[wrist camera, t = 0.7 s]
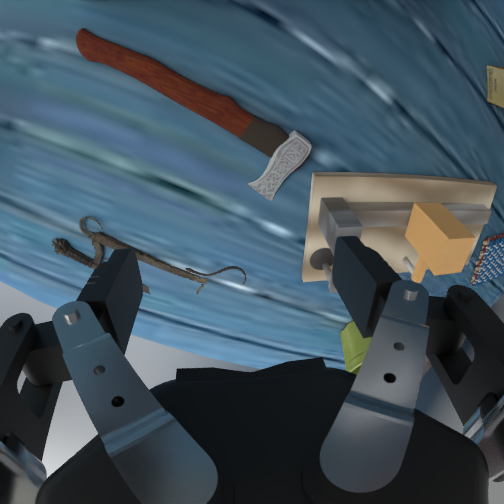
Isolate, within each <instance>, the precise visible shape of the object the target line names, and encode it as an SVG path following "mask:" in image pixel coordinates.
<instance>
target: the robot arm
mask: <svg viewBox="0 0 504 504" xmlns="http://www.w3.org/2000/svg"><path fill="white" fill-rule="evenodd" d="M88 1H99V0H88ZM332 279H333V284H334V286H335V288H336V290H337V291H338V293H339V295H340V297H341V299H342V300H343V302H344V304H345V306H346V308H347V309H348V311H349V313H350V315H351V317H352V319H353V320H354V322H355V324H356V326H357V328H358V330H359V332H360V333H361V335H362V337H363V338H369V337H372V340H371V342H370V345H369V348H368V350H367V353H366V355H365V358H364V360H363V362H362V365H361V367H360V370H359V372H358V374H357V375H356V374H354V373H351V372H349V371H346V370H341V369H337V368H329V367H326V366H325V363H324V360H323V358H322V357H320V358H312V359H305V360H297V361H288V362H285V363H282V364H278V365H275V366H272V367H269V368H265V369H262V370H259V371H255V372H242V371H234V370H227V369H220V368H213V367H212V368H182V369H177V372H176V379H175V380H171V381H168V382H165V383H162V384H160V385H158V386H155V387H153V388H152V389H150V390H149V389H148V388H147V387H146V385H145V384H144V383H143V382H142V380H141V379H140V377H139V376H138V375H137V373H136V372H135V370H134V369H133V368H132V366H131V365H130V363H129V362H128V361H127V359H126V358H125V356H124V355H125V351H126V348H127V345H128V341H129V338H130V334H131V331H132V328H133V325H134V321H135V318H136V315H137V312H138V309H139V305H140V302H141V299H142V295H143V285H142V280H141V275H140V271H139V266H138V261H137V257H136V252H135V250H134V249H133V248H125V249H115V250H114V252H113V253H112V255H111V257H110V258H109V260H108V261H107V262H103V263H102V264H101V265H99V266H98V267H97V268H96V269H95V270H94V272H93V273H92V275H91V278H89V280H88V281H87V284H86V285H85V286H84V288H83V290H82V292H81V293H80V295H79V297H78V298H77V300H76V301H74V302H69V303H67V304H65V305H63V306H61V307H60V308H58V309H57V310H56V312H55V313H54V315H53V318H52V321H49V322H45V323H40V324H36V325H35V323H34V321H33V319H32V317H31V315H29V314H27V313H19V314H16V315H14V316H12V317H10V318H8V319H7V320H6V321H5V322H4V323H3V325H2V326H1V328H0V504H488V485H489V482H491V481H495V482H501V481H504V323H503V322H502V321H501V320H500V319H499V318H498V316H497V315H496V314H495V313H494V312H493V310H492V309H491V308H490V307H489V306H488V305H487V304H486V303H485V301H484V300H483V299H482V298H481V297H480V296H479V295H478V294H477V293H476V292H475V291H474V290H472V289H470V288H468V287H466V286H462V285H454V286H451V287H450V288H449V289H448V292H447V295H446V297H435V296H429V293H428V291H427V290H426V288H425V287H423V286H422V285H420V284H419V283H416V282H414V281H410V280H402V279H401V278H400V277H399V275H398V274H397V273H396V272H395V271H394V270H393V269H392V267H391V266H389V264H388V263H387V262H386V261H385V260H384V258H383V257H382V256H381V255H380V254H379V253H378V252H377V251H375V250H373V249H371V248H370V247H366V246H365V245H364V244H363V243H362V242H361V241H360V239H359V238H358V237H357V236H339V237H337V239H336V243H335V252H334V260H333V268H332ZM465 337H467V338H468V340H469V341H470V343H471V344H472V346H473V347H474V352H475V356H474V360H473V362H471V360H470V359H469V357H468V356H467V354H466V353H465V351H464V350H463V348H462V347H461V345H462V343H463V341H464V340H465ZM425 354H426V356H427V358H428V360H429V361H430V363H431V365H432V367H433V368H434V370H435V372H436V374H437V376H438V377H439V379H440V381H441V383H442V385H443V386H444V388H445V390H446V392H447V394H448V396H449V398H450V400H451V402H452V404H453V406H454V408H455V409H456V412H457V414H458V416H459V418H460V419H461V422H462V424H463V426H464V428H463V434H461V433H459V432H457V431H455V430H453V429H451V428H450V427H448V426H446V425H444V424H442V423H440V422H439V421H437V420H435V419H433V418H431V417H429V416H428V415H426V414H424V413H422V412H421V411H419V410H417V409H415V408H414V407H415V403H416V399H417V394H418V389H419V385H420V380H421V376H422V371H423V365H424V360H425ZM22 370H23V372H24V374H25V375H26V379H25V381H24V384H23V386H22V389H21V392H20V394H19V393H18V389H17V381H18V378H19V375H20V373H21V371H22ZM68 380H73V382H74V385H75V387H76V389H77V391H78V393H79V396H80V398H81V400H82V402H83V404H84V406H85V408H86V411H87V412H88V414H89V417H90V419H91V420H92V422H93V424H94V426H95V428H96V430H97V432H98V435H96V436H95V437H94V438H93V439H92V440H91V441H90V442H89V443H87V444H86V445H85V446H84V447H83V448H82V449H81V450H79V451H78V452H77V453H76V454H75V455H74V456H73V457H71V458H70V459H69V460H68V461H67V462H65V463H64V464H63V465H62V466H61V467H60V468H58V470H56V471H55V472H54V473H52V474H51V475H50V476H49V477H48V478H47V475H46V469H45V467H44V465H43V463H42V457H43V453H44V448H45V444H46V439H47V436H48V432H49V428H50V424H51V420H52V416H53V413H54V409H55V406H56V402H57V399H58V396H59V392H60V389H61V386H62V383H63V381H68Z"/></svg>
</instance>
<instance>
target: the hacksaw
mask: <svg viewBox="0 0 504 504" xmlns="http://www.w3.org/2000/svg"><path fill="white" fill-rule="evenodd" d="M87 218H89V219H93V220H95V221H96V222H98V221H97V220H96V219H94V218H91V217H84V218H82V219H81V220H80V229H81V231H82V232H83V233H84V234H85V235H87V236H88V237H89V238H91V239H92V245H94V248H95V250H96V252H95V257H94V260H93V259H90V258H89V257H87V256H85V255H84V254H82V253H80V252H79V251H77V250H75V249H73V248H72V247H70V245H69V244H68V243H67V242H66V241H65V240H62V239H59V240H58V242H57V240H56V239H54V241H52V242H53V243H52V246H55V252H56V253H57V254H62V255H64V256H67V257H70V258H71V259H73V260H75V261H77V262H79V263H82V264H84V265H86V266H88V267H90V268H93V269H96V268H97V267H98V266H99V265H101V264H100V261H101V259H102V255H103V248H102V245H105V246H108V247H110V248H112V249H114V250H115V249H125V248H132V247H130V246H128V245H126V244H123V243H121V242H119V241H117V240H115V239H113V238H111V237H109V236H107V235H104V234H102V233H100V232H98V233H92V232H90V233H88V232H87V231H86V230H84V228H83V226H82V222H83V220H84V219H87ZM98 224H99V225H100V223H99V222H98ZM100 226H101V225H100ZM101 228H102V226H101ZM102 229H103V228H102ZM133 249H134V248H133ZM134 250H135V252H136V257H137V259H138V260H140V261H143V262H145V263H147V264H150V265H153V266H155V267H158V268H160V269H162V270H165V271H168V272H170V273H173V274H175V275H178V276H181V277H184V278H189V279H190V280H194V281H197V282H199V283H204V284H205V283H206V282H208V281H209V280H208V279H204V278H200V277H199V276H197V275H194V274H192V273H189V272H193V273H196V274H199V275H203V276H210V275H213V274H214V275H215V274H217V273H220V272H223V271H225V270H229V269H238V270H240V271H242V273H243V274H244V275H246V274H245V272H244V271H243V270H242V269H241V268H239V267H235V266H232V267H231V266H230V267H227V268H224V269H221V270H219V271H218V272H215V273H212V274H208V275H207V274H201V273H199V272H196V271H194V270H192V269H190V268H185V269H186V270H187V271H189V272H187V271H185V270H182V269H180V268H177V267H174V266H173V267H172V266H170V265H169V264H166V263H165V262H163V261H160V260H157V259H156V258H154V257H152V256H149V255H147V254H146V253H142V252H140V251H139V250H136V249H134ZM105 259H107V258H105ZM102 260H104V259H102ZM207 280H208V281H207ZM245 281H246V276H245ZM244 283H245V282H244ZM244 283H243V284H244ZM204 284H201V285H202V286H201V287H200V288H199V289H198V291H197V294H198V293H199V291H200V289H201V288H202V287H204ZM206 284H207V283H206ZM142 285H143V292H146V293H148V294H150V293H149V288H148V286H146V285H144V284H142Z"/></svg>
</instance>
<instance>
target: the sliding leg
mask: <svg viewBox="0 0 504 504" xmlns="http://www.w3.org/2000/svg"><path fill="white" fill-rule="evenodd" d="M405 237H406V238H407V240H408V241H409V242H410V243H411V245H412V246H413V247H414V249H415V250H416V251H417V253H418V254H419V258H418V261H417V263H416V266H415V267H414V266H413V265H412V263H411V262H410V260H409V259H408V257H404V258H403V259H402V261H403V262H404V264H405V265H406V267H407V268H408V270H409V271H410V273H411V274H412V277H411V279H412V280H413V281H414V282H416V283H420V282H421V281H422V279H423V276H424V274H425V271H426V269H427V266H428V267H429V269H430V270H431V271H432V273H433V274H434V276H435V275H443V274H450V273H457V272H461V271H462V269H463V267H464V264H465V262H466V260H467V258H468V255H469V253H470V251H471V248H472V246H473V243H474V241H475V238H476V237H475V236H474V235H473V234H472V233H471V232H470V231H469V230H468V229H467V228H466V227H465V226H464V225H463V224H462V223H461V222H460V221H459V220H458V219H457V218H456V217H455V216H454V215H453V214H452V213H451V212H450V211H449V210H448V209H447V208H445V207H444V206H443V205H442V204H441V203H418V202H414V205H413V208H412V212H411V216H410V220H409V223H408V227H407V230H406V233H405Z"/></svg>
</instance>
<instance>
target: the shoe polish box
mask: <svg viewBox="0 0 504 504" xmlns="http://www.w3.org/2000/svg"><path fill="white" fill-rule="evenodd" d="M487 90H488V99H487V102H488V103H491V104H493V105H496V106H498V107H500V108H503V109H504V68H500V67H495V66H488V65H487Z"/></svg>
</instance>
